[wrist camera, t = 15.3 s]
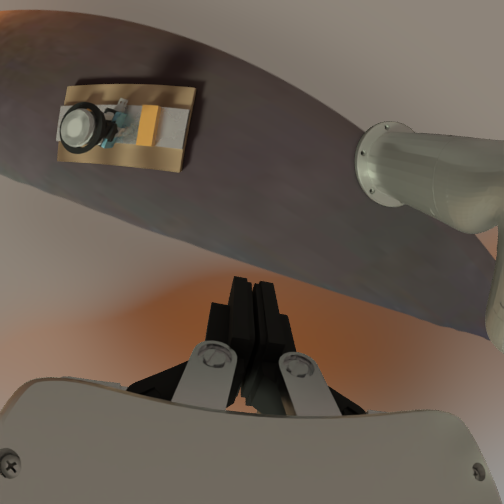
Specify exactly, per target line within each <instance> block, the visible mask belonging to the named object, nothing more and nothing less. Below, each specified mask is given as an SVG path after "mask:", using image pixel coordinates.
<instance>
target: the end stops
mask: <svg viewBox="0 0 504 504" xmlns="http://www.w3.org/2000/svg"><path fill="white" fill-rule="evenodd" d="M161 108H162V107H160V106H156V105H143V106H142V111H141V117H140V122H139V128H138V134H137V141H136V145H141V146H155V141H156V135H157V129H158V124H159V118H160V113H161ZM86 110H88V111H91V110H90V109H86Z"/></svg>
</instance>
